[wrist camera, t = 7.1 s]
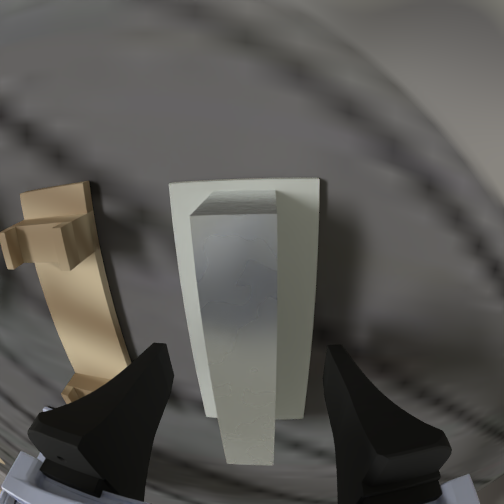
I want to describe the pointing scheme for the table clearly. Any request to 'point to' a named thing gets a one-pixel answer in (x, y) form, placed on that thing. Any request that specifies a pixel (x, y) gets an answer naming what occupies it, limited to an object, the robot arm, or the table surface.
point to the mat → (288, 280)
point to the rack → (70, 281)
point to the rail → (240, 316)
